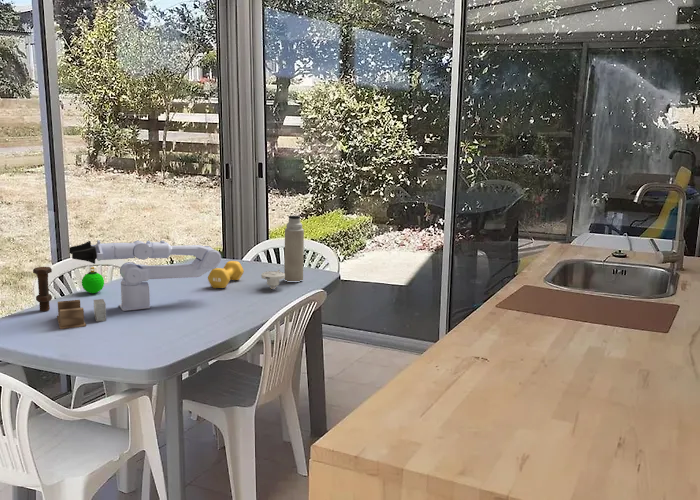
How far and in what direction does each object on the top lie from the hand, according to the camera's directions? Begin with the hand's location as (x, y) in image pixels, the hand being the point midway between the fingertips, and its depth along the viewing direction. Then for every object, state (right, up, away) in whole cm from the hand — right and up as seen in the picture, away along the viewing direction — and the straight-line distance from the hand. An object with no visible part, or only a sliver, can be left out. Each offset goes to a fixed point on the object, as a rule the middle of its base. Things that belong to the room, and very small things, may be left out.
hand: (70, 253), depth 219 cm
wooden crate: (+2, -23, -5) cm, 23 cm away
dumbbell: (+42, -13, +51) cm, 68 cm away
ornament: (-4, -16, +31) cm, 35 cm away
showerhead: (+63, -15, +45) cm, 79 cm away
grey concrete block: (+10, -22, -1) cm, 24 cm away
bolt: (-12, -20, +7) cm, 24 cm away
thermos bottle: (+70, -12, +60) cm, 92 cm away
